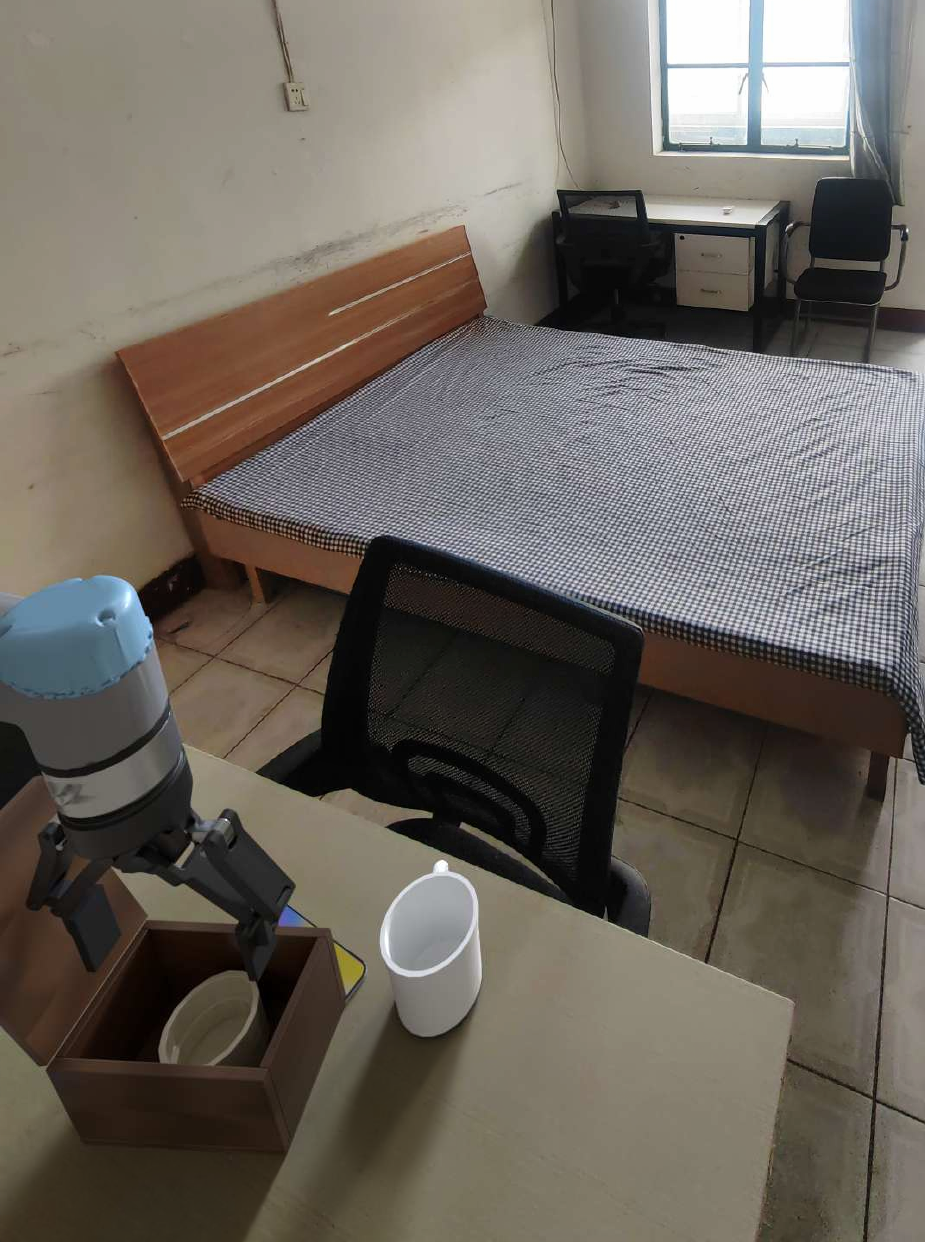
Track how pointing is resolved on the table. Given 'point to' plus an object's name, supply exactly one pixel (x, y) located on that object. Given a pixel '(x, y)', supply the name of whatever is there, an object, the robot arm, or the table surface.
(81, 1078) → the wooden box
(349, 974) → the smartphone
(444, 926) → the mug
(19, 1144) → the table surface
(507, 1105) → the table surface
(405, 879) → the table surface
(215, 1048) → the bowl
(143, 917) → the lid
